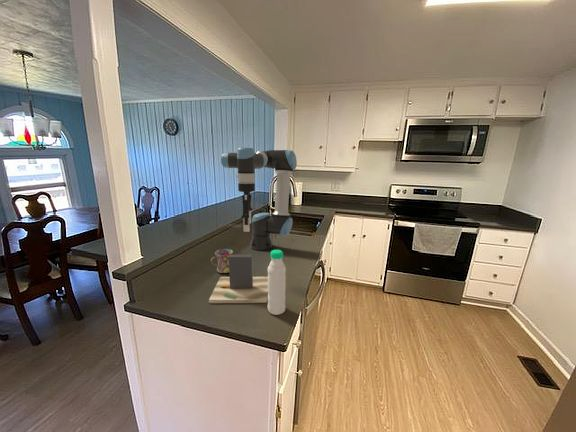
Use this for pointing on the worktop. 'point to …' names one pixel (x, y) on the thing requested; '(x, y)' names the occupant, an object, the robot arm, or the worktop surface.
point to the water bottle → (276, 283)
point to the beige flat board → (240, 292)
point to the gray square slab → (240, 271)
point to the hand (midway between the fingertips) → (247, 227)
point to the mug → (222, 260)
